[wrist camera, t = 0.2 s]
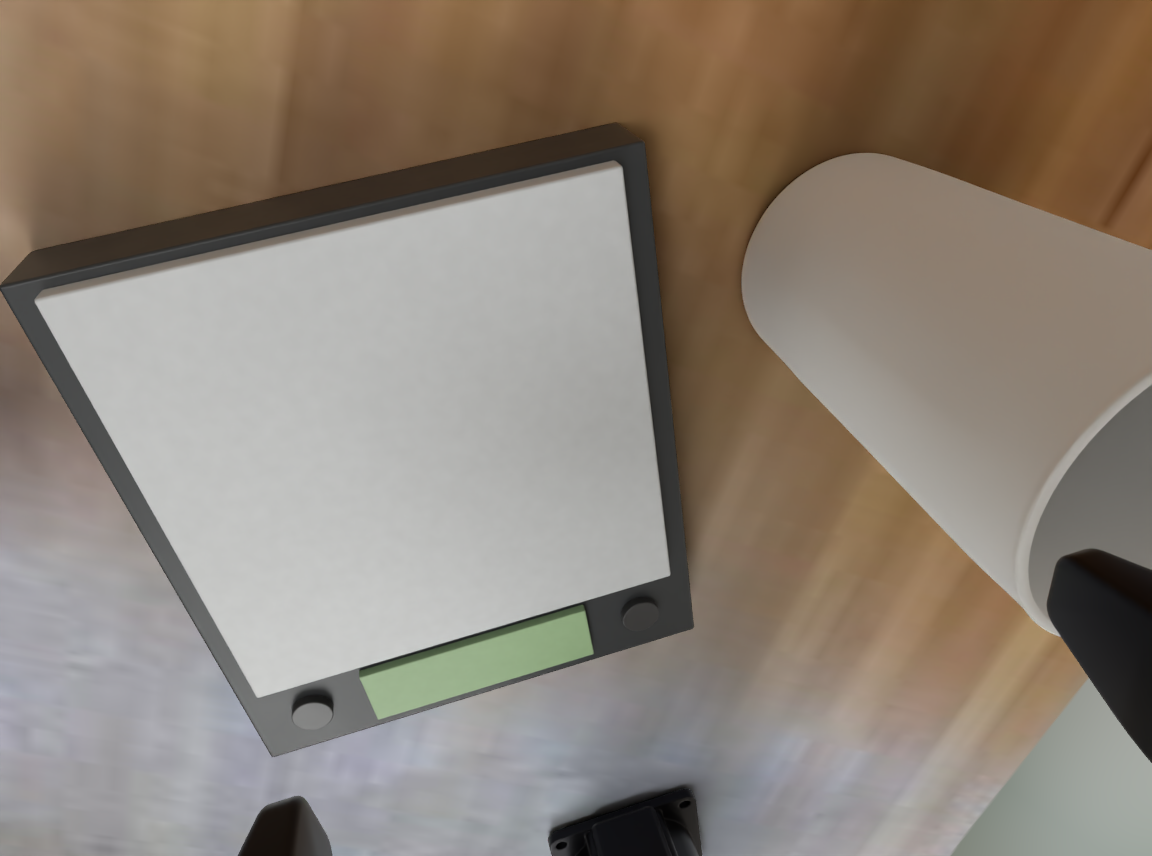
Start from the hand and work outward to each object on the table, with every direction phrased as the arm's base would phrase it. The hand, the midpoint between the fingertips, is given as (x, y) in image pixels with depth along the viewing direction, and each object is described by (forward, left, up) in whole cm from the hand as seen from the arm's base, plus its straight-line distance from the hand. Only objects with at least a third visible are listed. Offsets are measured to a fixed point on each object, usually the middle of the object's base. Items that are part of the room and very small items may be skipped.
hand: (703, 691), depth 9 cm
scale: (-5, +3, -15) cm, 16 cm away
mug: (-3, -11, -15) cm, 19 cm away
